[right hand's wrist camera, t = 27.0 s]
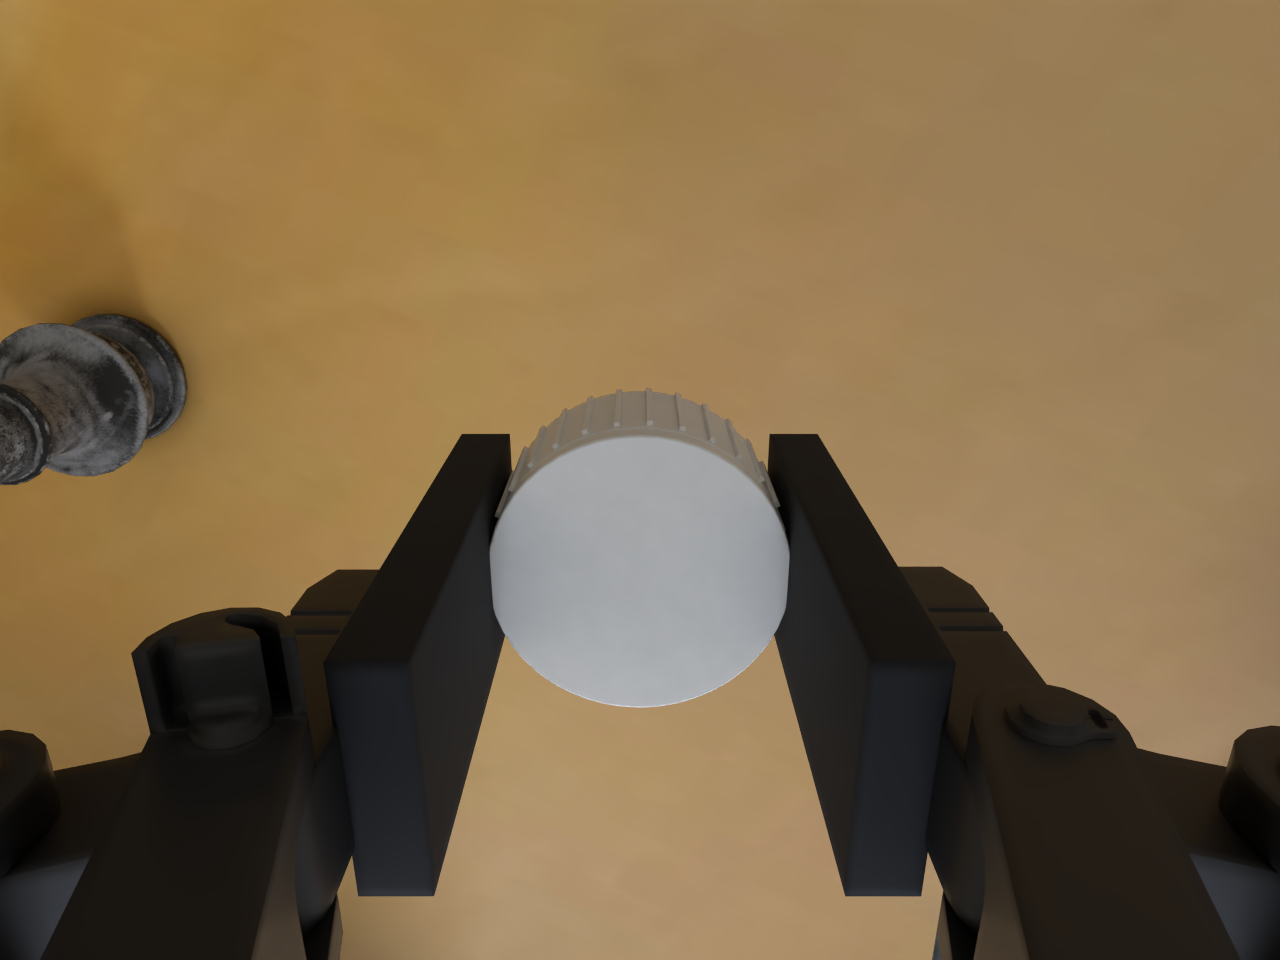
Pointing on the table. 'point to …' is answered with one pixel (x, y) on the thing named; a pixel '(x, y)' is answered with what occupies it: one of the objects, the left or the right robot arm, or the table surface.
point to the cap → (639, 551)
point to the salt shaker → (84, 396)
